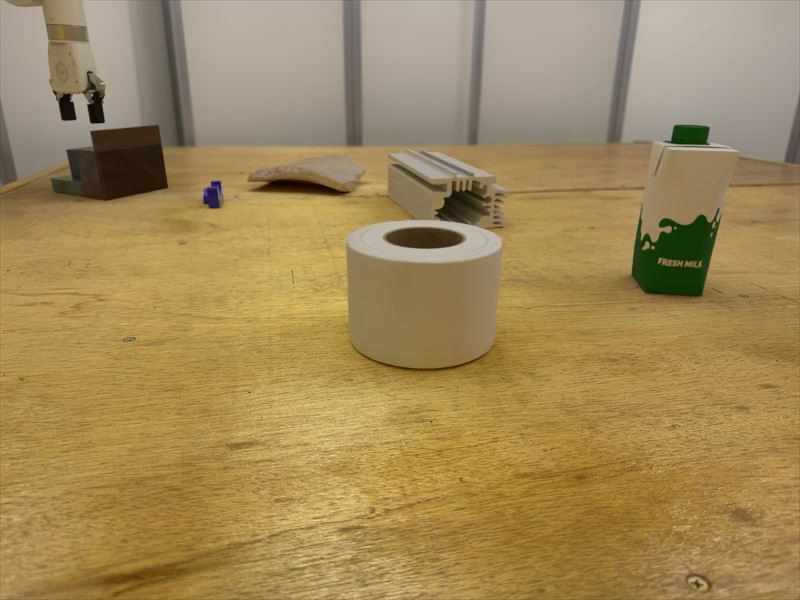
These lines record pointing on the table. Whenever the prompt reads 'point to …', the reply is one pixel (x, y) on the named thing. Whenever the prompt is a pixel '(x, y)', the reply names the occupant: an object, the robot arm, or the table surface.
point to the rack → (117, 164)
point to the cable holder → (213, 194)
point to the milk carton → (681, 211)
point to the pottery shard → (315, 172)
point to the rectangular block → (74, 162)
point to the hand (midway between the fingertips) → (83, 121)
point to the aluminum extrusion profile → (444, 189)
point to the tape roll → (423, 292)
